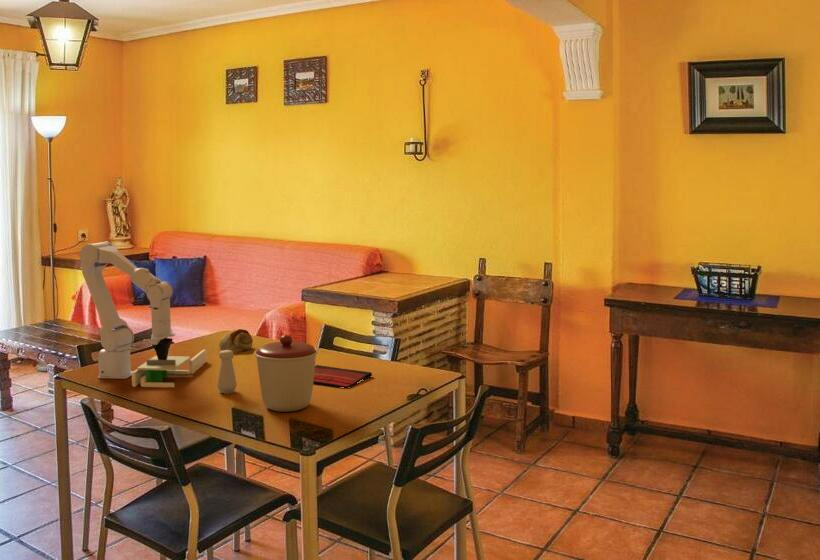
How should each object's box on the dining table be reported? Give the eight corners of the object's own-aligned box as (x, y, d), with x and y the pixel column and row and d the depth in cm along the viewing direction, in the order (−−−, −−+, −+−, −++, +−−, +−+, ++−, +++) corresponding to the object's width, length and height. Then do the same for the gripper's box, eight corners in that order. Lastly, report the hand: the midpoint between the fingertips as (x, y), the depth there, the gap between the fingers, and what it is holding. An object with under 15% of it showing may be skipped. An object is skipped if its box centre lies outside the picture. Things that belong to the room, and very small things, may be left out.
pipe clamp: (158, 385, 247) (157, 371, 246) (146, 385, 247) (145, 371, 246) (170, 375, 258) (169, 362, 257) (159, 375, 258) (158, 361, 257)
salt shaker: (219, 396, 235) (218, 353, 233) (215, 391, 240) (214, 349, 238) (239, 393, 238) (238, 351, 236) (234, 388, 243) (233, 347, 241)
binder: (317, 364, 266) (372, 371, 258) (317, 370, 267) (372, 378, 258) (291, 377, 252) (348, 385, 243) (291, 384, 252) (348, 393, 244)
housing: (132, 386, 244) (131, 372, 244) (167, 361, 275) (166, 348, 275) (176, 387, 244) (176, 373, 243) (206, 362, 275) (206, 349, 274)
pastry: (243, 354, 287) (242, 333, 286) (212, 352, 290) (211, 331, 289) (259, 345, 301) (259, 325, 299) (229, 343, 304) (229, 323, 302)
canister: (242, 412, 220) (241, 338, 217) (276, 394, 237) (274, 326, 234) (299, 420, 214) (298, 344, 211) (329, 401, 231) (329, 331, 228)
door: (137, 369, 245) (136, 363, 245) (154, 357, 261) (154, 351, 260) (174, 370, 245) (174, 363, 245) (190, 358, 260) (190, 352, 260)
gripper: (165, 324, 242) (167, 367, 244) (180, 315, 256) (182, 356, 258) (143, 324, 242) (144, 367, 244) (159, 315, 256) (161, 356, 258)
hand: (162, 361), depth 251 cm, fingers closed
